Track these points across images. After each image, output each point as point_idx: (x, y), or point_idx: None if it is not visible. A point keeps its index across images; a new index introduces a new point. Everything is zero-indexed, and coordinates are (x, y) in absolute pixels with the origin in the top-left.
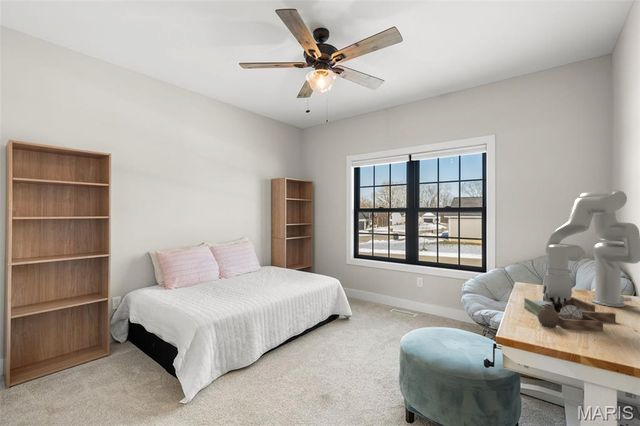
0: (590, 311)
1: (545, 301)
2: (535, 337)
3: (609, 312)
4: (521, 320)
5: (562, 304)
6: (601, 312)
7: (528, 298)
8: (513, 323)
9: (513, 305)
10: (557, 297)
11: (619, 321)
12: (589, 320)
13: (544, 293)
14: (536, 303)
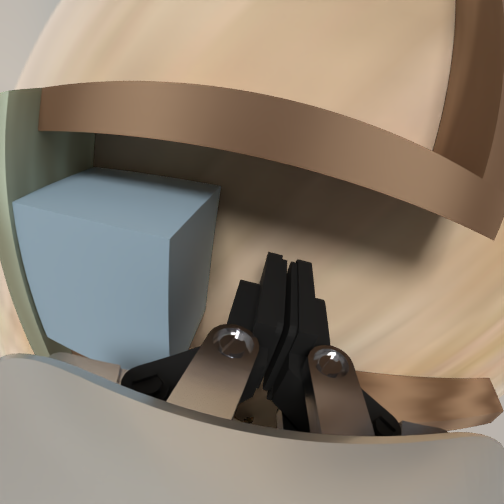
0: (426, 423)
1: (154, 254)
2: None
3: (495, 413)
4: (17, 319)
5: (476, 230)
6: (461, 423)
7: (6, 111)
8: (3, 331)
9: (52, 26)
10: (317, 426)
11: (499, 380)
12: None
13: (34, 368)
14: (26, 317)
